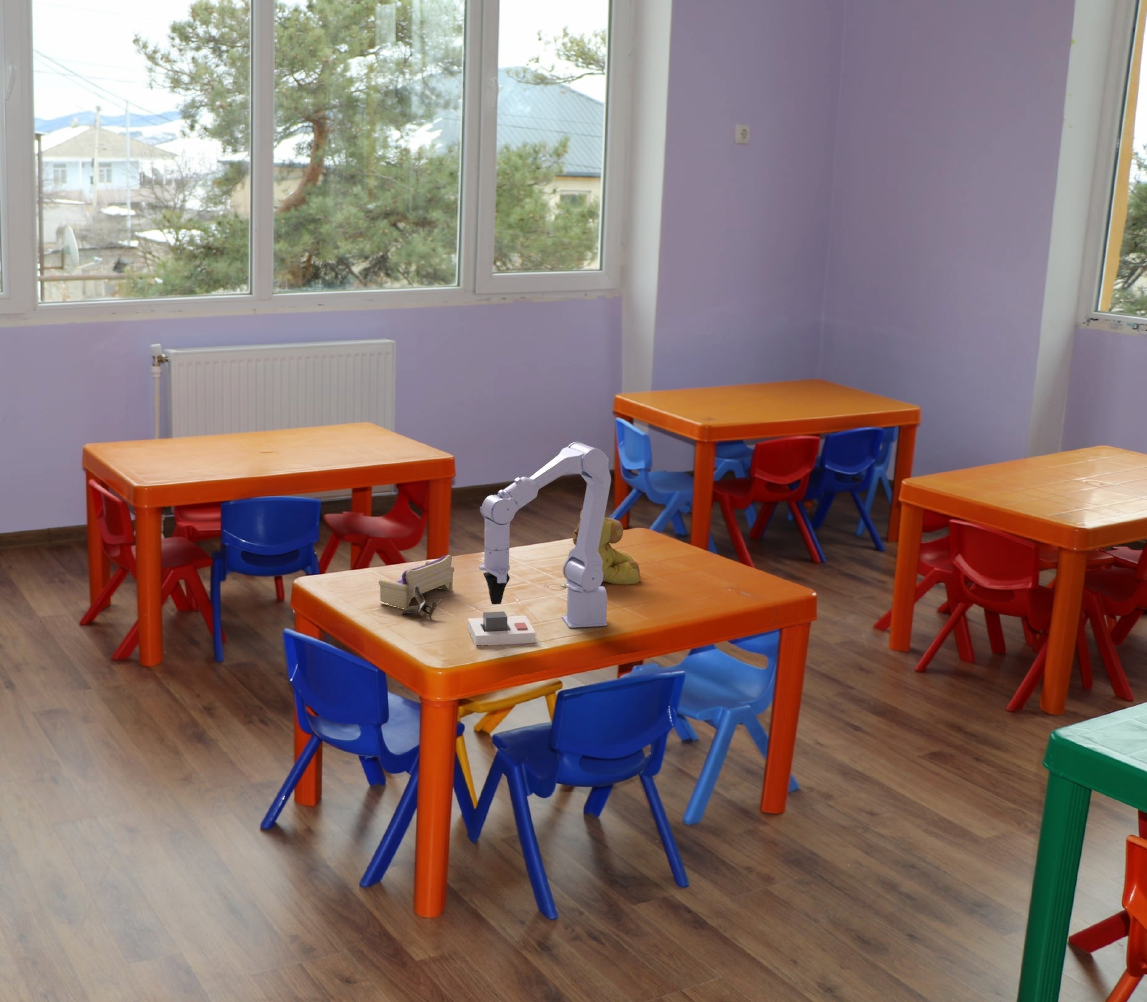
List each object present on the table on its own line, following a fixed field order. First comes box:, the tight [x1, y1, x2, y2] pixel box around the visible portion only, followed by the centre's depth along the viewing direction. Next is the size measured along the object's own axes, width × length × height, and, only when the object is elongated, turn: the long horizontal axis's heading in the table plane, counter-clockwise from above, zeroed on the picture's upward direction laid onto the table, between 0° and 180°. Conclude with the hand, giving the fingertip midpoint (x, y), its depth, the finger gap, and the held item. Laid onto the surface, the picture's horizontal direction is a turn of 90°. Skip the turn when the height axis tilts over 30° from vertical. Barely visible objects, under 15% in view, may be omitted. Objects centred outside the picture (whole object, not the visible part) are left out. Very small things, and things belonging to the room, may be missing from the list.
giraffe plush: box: [560, 508, 641, 588], centre depth 343 cm, size 20×24×19 cm
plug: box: [482, 610, 508, 632], centre depth 299 cm, size 5×4×5 cm
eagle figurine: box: [402, 587, 443, 620], centre depth 312 cm, size 8×7×9 cm
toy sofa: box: [378, 554, 455, 609], centre depth 325 cm, size 21×9×10 cm, turn 150°
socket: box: [467, 615, 537, 647], centre depth 300 cm, size 14×12×3 cm
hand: (496, 603), depth 297 cm, fingers closed
